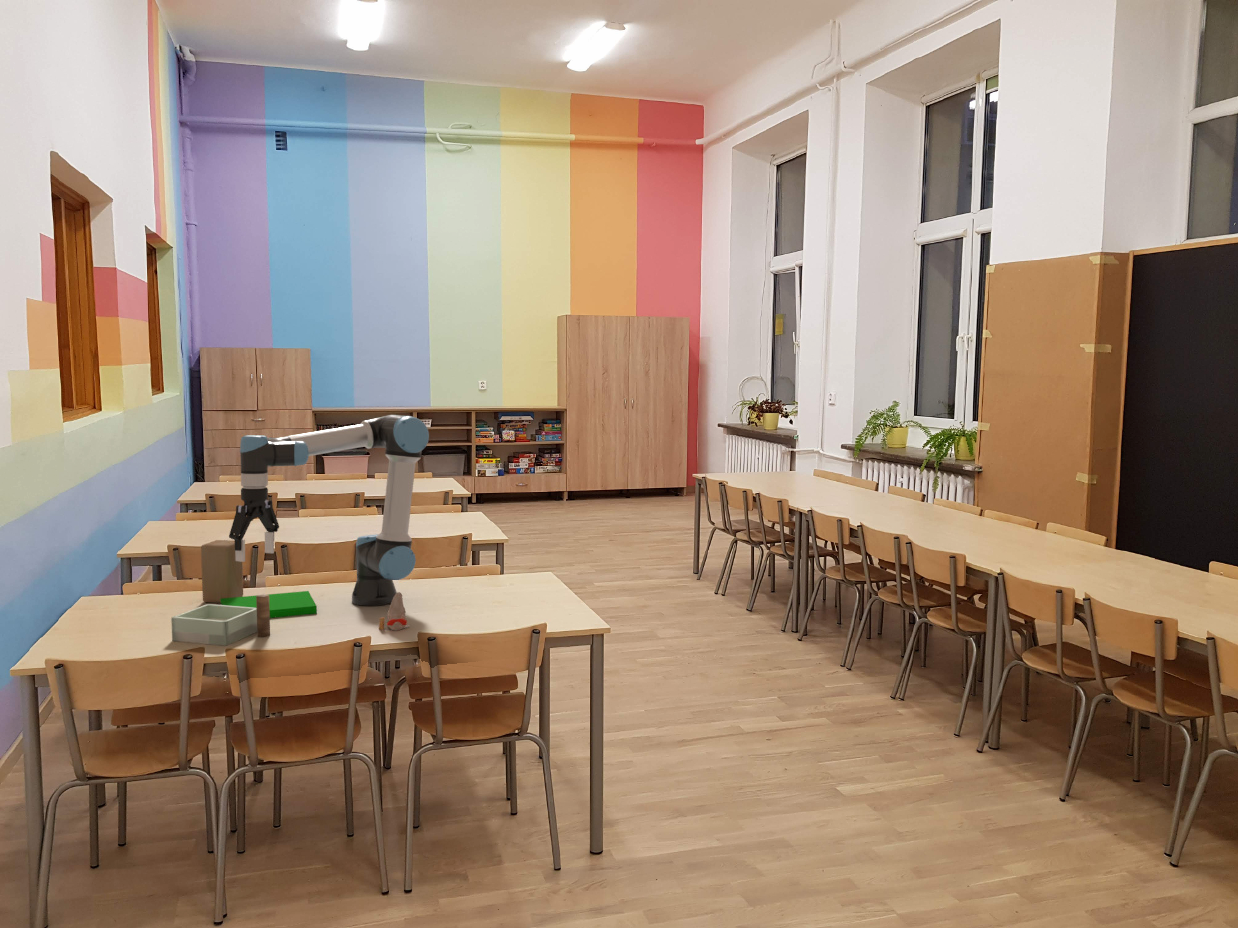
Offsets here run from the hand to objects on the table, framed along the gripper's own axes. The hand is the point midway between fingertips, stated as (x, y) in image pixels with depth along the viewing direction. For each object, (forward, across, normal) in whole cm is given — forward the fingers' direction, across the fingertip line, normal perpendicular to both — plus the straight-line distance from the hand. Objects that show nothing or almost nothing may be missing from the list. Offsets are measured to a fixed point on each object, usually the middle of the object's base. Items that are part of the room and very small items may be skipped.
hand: (255, 557), depth 275 cm
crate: (+23, +7, -8) cm, 26 cm away
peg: (+23, +3, +5) cm, 24 cm away
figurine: (+23, -16, +38) cm, 47 cm away
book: (+24, -23, -12) cm, 35 cm away
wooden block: (+23, -29, -35) cm, 51 cm away
